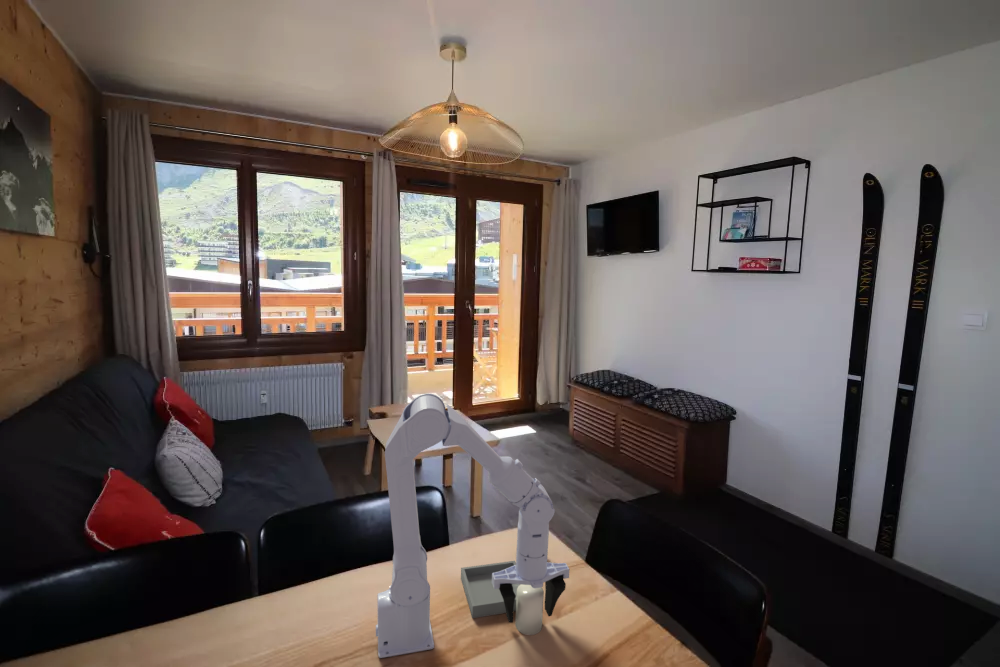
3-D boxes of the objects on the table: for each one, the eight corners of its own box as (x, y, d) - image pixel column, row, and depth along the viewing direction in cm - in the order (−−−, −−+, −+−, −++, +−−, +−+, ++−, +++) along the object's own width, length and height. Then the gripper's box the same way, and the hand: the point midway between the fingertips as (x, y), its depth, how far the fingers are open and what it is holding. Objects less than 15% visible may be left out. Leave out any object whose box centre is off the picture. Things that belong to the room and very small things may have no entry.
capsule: (519, 637, 89) (521, 602, 88) (512, 617, 94) (513, 584, 93) (545, 632, 90) (547, 598, 89) (536, 613, 95) (538, 580, 94)
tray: (472, 618, 93) (472, 606, 93) (460, 578, 105) (461, 567, 104) (531, 608, 96) (532, 597, 96) (514, 571, 108) (514, 560, 107)
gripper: (499, 567, 84) (497, 638, 86) (577, 556, 88) (573, 624, 90) (489, 544, 91) (487, 610, 93) (562, 535, 94) (559, 598, 96)
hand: (529, 615), depth 92 cm, fingers open, 7 cm apart
